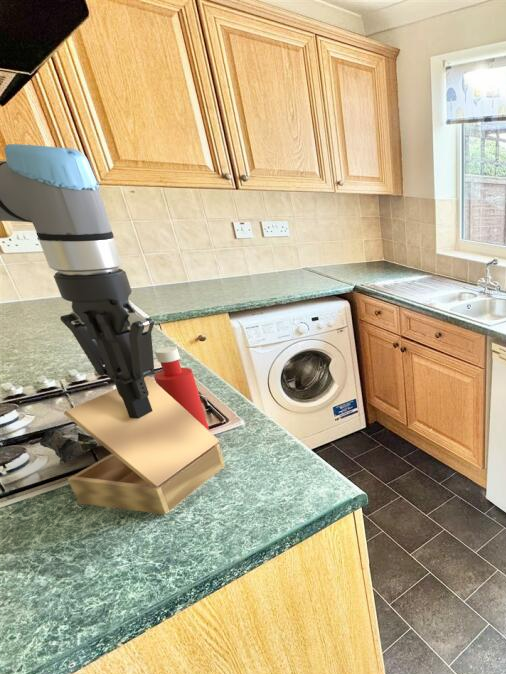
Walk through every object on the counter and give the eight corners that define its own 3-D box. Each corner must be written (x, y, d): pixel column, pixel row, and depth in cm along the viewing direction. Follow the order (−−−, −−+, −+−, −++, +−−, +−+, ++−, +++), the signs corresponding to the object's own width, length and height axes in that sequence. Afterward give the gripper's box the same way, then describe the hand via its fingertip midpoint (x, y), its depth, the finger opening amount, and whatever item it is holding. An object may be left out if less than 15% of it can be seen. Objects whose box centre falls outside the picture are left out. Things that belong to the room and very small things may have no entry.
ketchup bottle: (169, 448, 86) (137, 353, 78) (192, 433, 92) (164, 343, 83) (196, 451, 86) (167, 356, 77) (218, 436, 91) (193, 345, 83)
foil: (107, 466, 75) (35, 416, 74) (105, 497, 80) (38, 450, 79) (171, 431, 85) (108, 386, 84) (165, 460, 90) (106, 419, 89)
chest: (80, 506, 70) (67, 479, 68) (152, 460, 83) (143, 435, 80) (167, 517, 69) (156, 489, 67) (226, 468, 81) (219, 443, 79)
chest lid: (63, 413, 62) (65, 410, 62) (145, 377, 74) (147, 374, 74) (154, 488, 67) (157, 486, 66) (217, 442, 79) (220, 440, 79)
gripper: (155, 269, 62) (195, 407, 72) (75, 262, 63) (126, 400, 73) (105, 278, 56) (158, 430, 66) (16, 270, 57) (82, 421, 66)
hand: (141, 414), depth 69 cm, fingers closed
